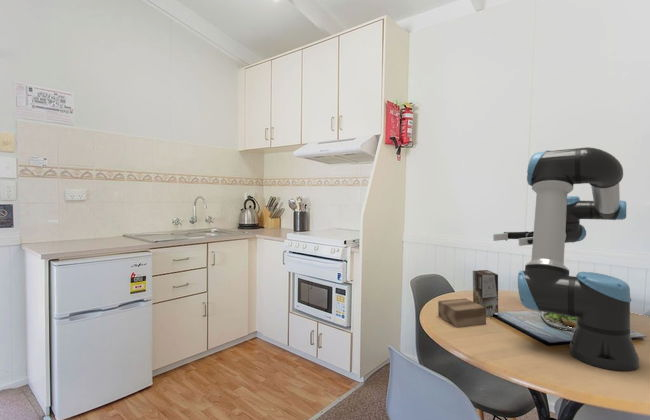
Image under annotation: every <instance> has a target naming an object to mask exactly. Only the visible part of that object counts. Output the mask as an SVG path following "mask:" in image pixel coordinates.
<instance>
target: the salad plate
mask: <svg viewBox="0 0 650 420" xmlns="http://www.w3.org/2000/svg"><path fill="white" fill-rule="evenodd" d="M540 318H541V319H542V320H543V322H544V323H546V324H548V325H549V326H550V325H551V327H552V326H554V327H553V328H555V327H557V328H556V329H558V328H561V329H567V330H576V328H577V317H572V316H566V315H560V314H554V313H549V312H543V311H541V312H540ZM547 320H550V321H549V322H548V321H547ZM551 321H554V322H551ZM555 322H559V323H558V324H560V323H563V324H565V325H566V326H569V327H572V328H569V327H566V326H565V325H563V324H562V325H563V326H561V325H558V324H556V323H555ZM561 329H560V330H561ZM567 330H566V331H567Z"/></svg>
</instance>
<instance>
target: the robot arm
mask: <svg viewBox="0 0 650 420" xmlns="http://www.w3.org/2000/svg"><path fill="white" fill-rule="evenodd" d="M526 173H527V175H526V179H527V180H526V182H527V185H529V186H531V190H532V191H534V192H535V193H536V195H535V196H536V197H535V199H536V200H535V209H534V210H535V211H534V222H533V223H534V224H533V231H503V233H494V234H493V236H492V237H493V238H492V239H493V242H497V241H498V242H499V241H508V240H518V246H520V247H522V246H532V248H531V258H530V259H531V260H530V261H529V262H527V263H526V264H525V266H524V269H523V270H520V271H519V272H518V276H517V288H518V296H519V300H520V303H521V304H522V306H523V307H524V308H525V309H528V310H532V311H537V312H539V313H542V312H549V313H554V314H560V315H566V316H572V317H577V328H576V330H575V331H574V332H573V336H572V338H571V341H570V343H569V352H570V354H571V356H573V357H574V358H575V359H577V360H579V361H581V362H583V363H586V364H588V365H591V366H594V367H596V368H597V367H598V368H600V369H601V368H602V369H607V370H612V371H634V370H636V369H638V368H639V366H640V357H639V355H638V352H637V350H636V348H635V345H634V342H633V339H632V336H631V302H632V298H631V288H630V285H629V284H628V283H627V282H626V281H624V280H622V279H621V278H617V277H615V276H612V275H608V274H604V273H598V272H594V271H593V272H590V271H580V272H579V271H578V273H577V274H576V276H572V275H570V269H569V268H568V267H567V266H566V265H565V261H564V260H565V246H566V245H565V244H569V243H573V244H574V243H576V242H581V241H583V240H584V239H585V238H586V236H587V230H586V229H585V226H584V225H583V224H580V223H581V222H580V220H600V221H601V220H605V221H607V220H608V221H616V220H617V221H620V220H622V221H623V220H625V219H626V218H627V202H626V200H622V199H621V198H620V194H621V193H620V183H621V181H622V180H623V178H624V168H623V166H622V164H621V161H619V160H618V159H617V158H616V157H615V156H614V155H613V154H611V153H609V152H608V151H605V150H603V149H601V148H596V147H578V148H566V149H556V150H545V151H540V152H539V151H538V152H535V153H534V154H533V155H532V156H530V159H529V162H528V165H527V171H526ZM582 184H589V185H590V188H591V193H592V198H593V199H592V200H581V199H580V197H579V196H578V195H577V196H575V195H574V196H573V195H572V196H571V195H569V196H568V194H570V193H571V192H573V190H574V185H582ZM620 199H621V200H620Z"/></svg>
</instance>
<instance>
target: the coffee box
mask: <svg viewBox="0 0 650 420" xmlns="http://www.w3.org/2000/svg"><path fill="white" fill-rule="evenodd" d="M472 297H473V300H472V301H473V302H475V303H477V304H479V305H481V306H483V307H486V317H494V316H493V314H495V313H498V314H499V274H498V273H495V272H493V271H490V270H488V269H483V270H482V269H480V270H472Z"/></svg>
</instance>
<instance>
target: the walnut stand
mask: <svg viewBox="0 0 650 420" xmlns="http://www.w3.org/2000/svg"><path fill="white" fill-rule="evenodd" d="M437 305H438V307H437V310H438V317H439V318H440V319H442V320H444V321H445V322H447V323H449V324H450V325H452V326H453V327H455V328H462V327H472V326H479V325H480V326H482V325H486V324H487V316H486V307H483V306H481V305H479V304H477V303H475V302H473V300H470V299H468V298H457V299H446V300H438V301H437Z"/></svg>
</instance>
